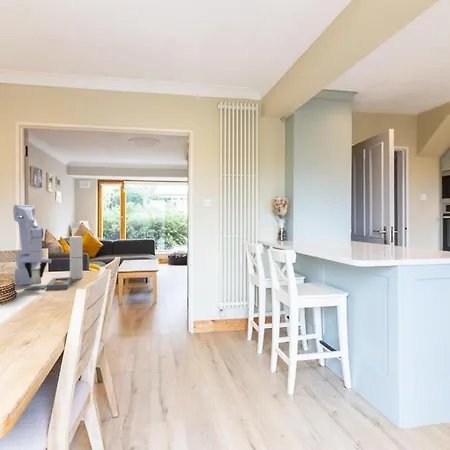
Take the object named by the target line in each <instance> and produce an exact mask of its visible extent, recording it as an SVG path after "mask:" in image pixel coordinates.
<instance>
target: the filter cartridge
mask: <svg viewBox="0 0 450 450" xmlns="http://www.w3.org/2000/svg"><path fill="white" fill-rule="evenodd" d="M40 272H41V271H40V267H35V268H31V279H32V284H31V286H35V285H42V277H40Z"/></svg>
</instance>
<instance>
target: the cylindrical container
mask: <svg viewBox="0 0 450 450" xmlns="http://www.w3.org/2000/svg"><path fill="white" fill-rule="evenodd" d="M83 256H84V255H83V235H82V236H81V235H79V236H78V235H77V236H74V235H73V236H69V277H72V280H79V279H83V277H84V276H83V274H84V273H83V270H84V269H83V265H84V263H83V260H84V259H83Z"/></svg>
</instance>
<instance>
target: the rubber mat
mask: <svg viewBox="0 0 450 450" xmlns="http://www.w3.org/2000/svg"><path fill="white" fill-rule="evenodd" d="M46 285H47V284H36V285H26V287H25V288H24V291H35V290H36V291H37V290H40V289H41V290H45V289H46Z"/></svg>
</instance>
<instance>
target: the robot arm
mask: <svg viewBox="0 0 450 450" xmlns="http://www.w3.org/2000/svg"><path fill="white" fill-rule="evenodd" d="M35 213H36V208H35V206H34V204H26V205H25V204H14V205H13V211H12V215H13V219H14V222H15V221H16V222H17V225H18V229H19V240H20V249H21V250H20V251H19V252H17V253H16V258H15V263H16V266H17V268H15V269H14V286H21V285H22V286H23V285H26V286H27V285H32V279H31V268H37V266H38V265H39V268H40V271H41V272H40V277H41V278H43V276H44V272H45V269H46V266H47V264H51V263H52V258H43V243H42V242H43V238H44V229H43V228H42V227H41V226H40V225H39V223H38V221H37V219H35V218H34V216H35Z"/></svg>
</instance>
